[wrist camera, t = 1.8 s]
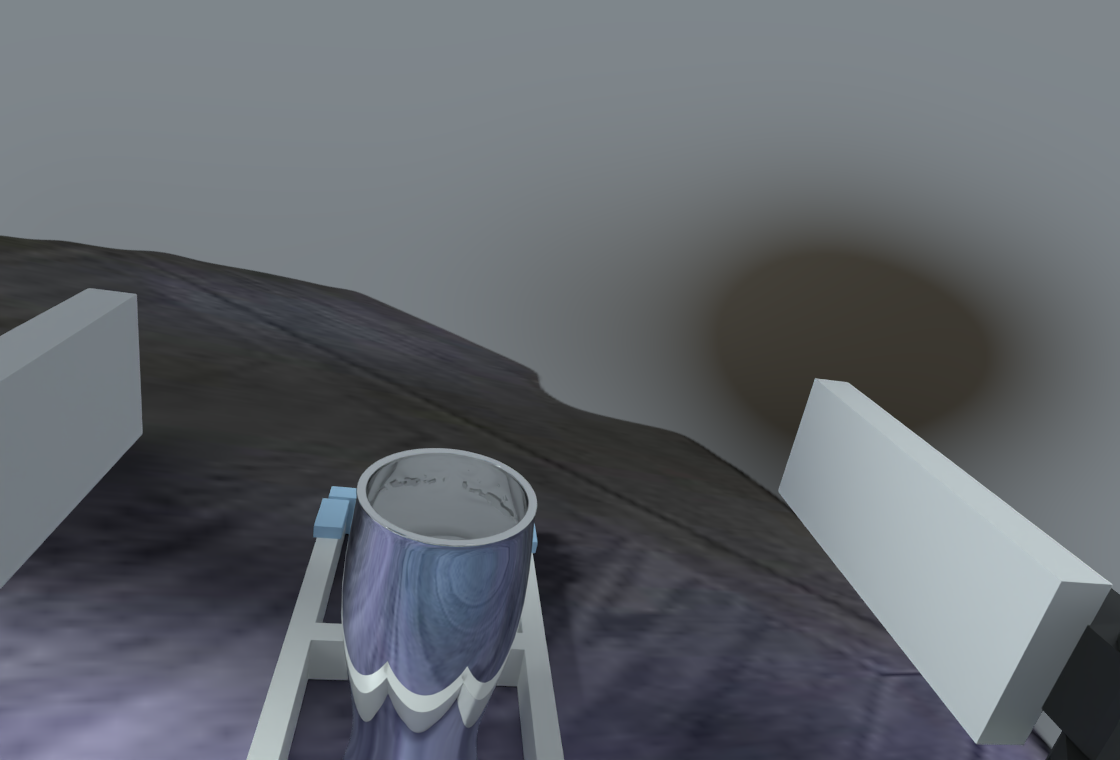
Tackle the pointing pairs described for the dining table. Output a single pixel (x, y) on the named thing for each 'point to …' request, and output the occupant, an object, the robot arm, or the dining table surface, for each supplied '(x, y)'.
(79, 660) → the dining table surface
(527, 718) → the frame
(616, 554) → the dining table surface
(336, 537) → the light blue bracket
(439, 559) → the beer glass
